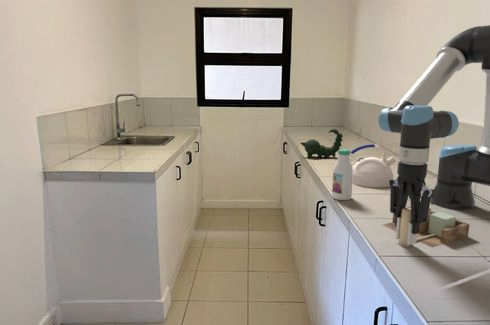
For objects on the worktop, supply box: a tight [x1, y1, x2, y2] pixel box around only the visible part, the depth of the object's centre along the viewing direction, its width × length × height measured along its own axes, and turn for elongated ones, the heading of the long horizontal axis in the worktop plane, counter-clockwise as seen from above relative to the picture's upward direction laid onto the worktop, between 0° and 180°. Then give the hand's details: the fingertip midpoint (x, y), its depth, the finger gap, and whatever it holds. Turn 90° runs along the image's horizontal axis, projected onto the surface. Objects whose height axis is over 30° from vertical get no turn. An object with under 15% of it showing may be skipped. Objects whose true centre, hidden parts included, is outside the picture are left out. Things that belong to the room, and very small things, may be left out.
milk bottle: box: [331, 148, 353, 201], centre depth 152 cm, size 8×8×20 cm
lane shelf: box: [382, 210, 471, 248], centre depth 119 cm, size 16×19×5 cm
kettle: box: [350, 144, 397, 189], centre depth 177 cm, size 20×21×18 cm
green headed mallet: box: [398, 207, 457, 248], centre depth 112 cm, size 20×5×11 cm, turn 117°
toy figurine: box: [300, 128, 344, 159], centre depth 232 cm, size 9×19×25 cm
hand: (405, 240), depth 110 cm, fingers closed on green headed mallet, 3 cm apart
